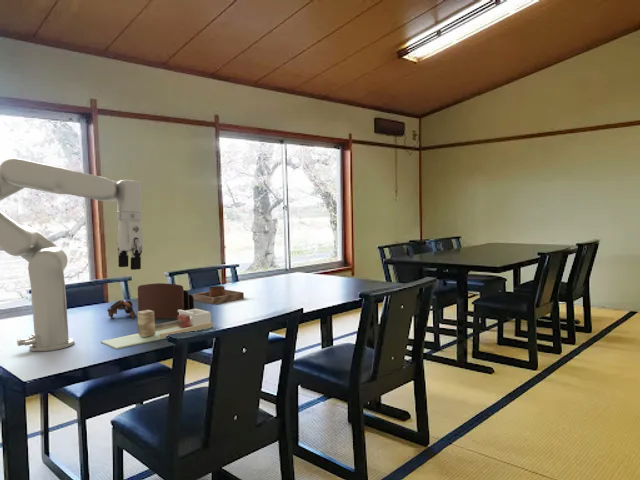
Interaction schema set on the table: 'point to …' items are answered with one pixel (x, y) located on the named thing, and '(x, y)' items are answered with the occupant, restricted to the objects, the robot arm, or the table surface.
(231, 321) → the table surface
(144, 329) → the rod
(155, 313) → the letter holder
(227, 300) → the tray frame
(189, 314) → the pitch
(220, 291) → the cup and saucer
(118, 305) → the brown jagged arch
